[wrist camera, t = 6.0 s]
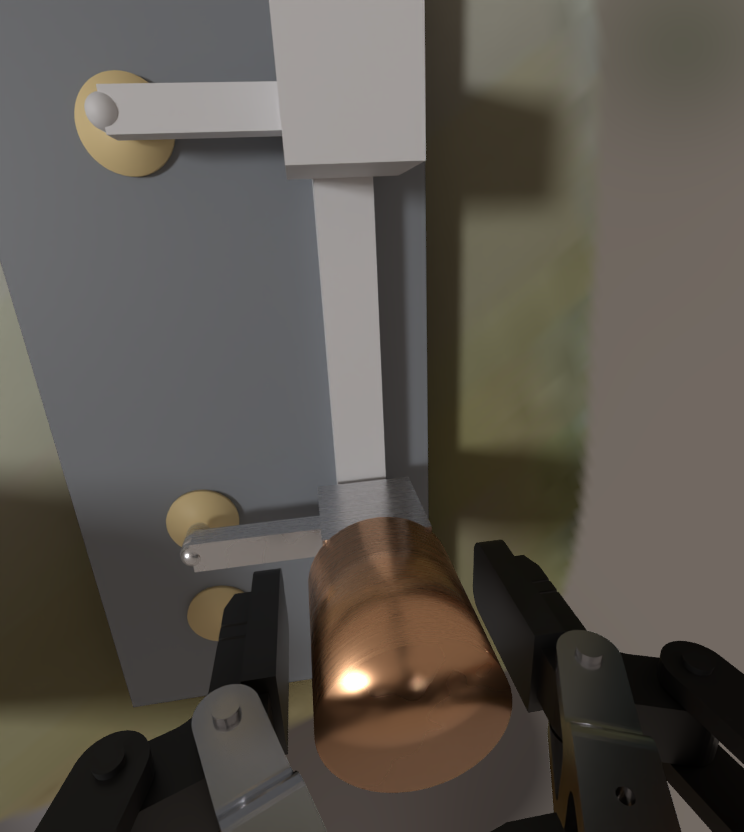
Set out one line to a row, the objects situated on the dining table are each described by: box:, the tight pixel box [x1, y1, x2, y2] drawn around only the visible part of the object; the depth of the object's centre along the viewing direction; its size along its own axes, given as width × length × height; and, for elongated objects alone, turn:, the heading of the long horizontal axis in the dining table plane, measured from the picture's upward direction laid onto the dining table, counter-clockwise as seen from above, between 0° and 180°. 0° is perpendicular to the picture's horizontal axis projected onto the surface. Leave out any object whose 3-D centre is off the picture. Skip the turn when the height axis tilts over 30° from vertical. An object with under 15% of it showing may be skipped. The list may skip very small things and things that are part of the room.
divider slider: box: [180, 477, 512, 793], centre depth 13 cm, size 4×8×8 cm, turn 93°
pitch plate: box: [0, 0, 428, 707], centre depth 15 cm, size 24×12×6 cm, turn 3°
